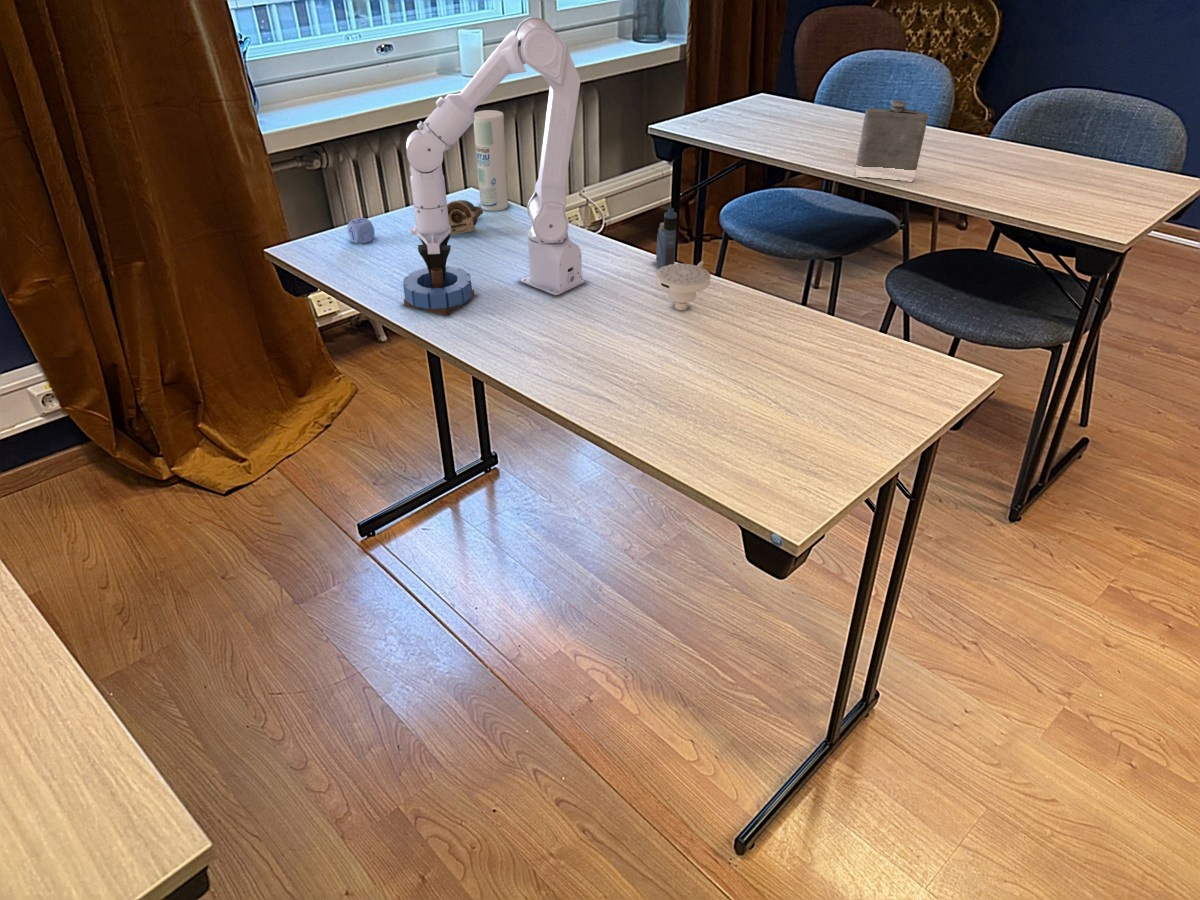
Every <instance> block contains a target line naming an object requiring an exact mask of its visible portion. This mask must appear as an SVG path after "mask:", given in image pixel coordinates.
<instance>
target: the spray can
mask: <svg viewBox="0 0 1200 900" xmlns="http://www.w3.org/2000/svg"><path fill="white" fill-rule="evenodd" d="M504 116H505V115H504V112H503V111H501V110H500V111H499V110H493V109H492V110H491V109H487V110H485V109H483V110H479V111H474V122H473V133H474V143H475V155H476V168H477V176H478V177H477V179H478V191H479V192H478V193H479V200H480V203H479V204H480V208H481V209H482V210H484V211H493V212H494V211H503V210H505V209H507V208H508V207H509V192H508V175H507V173H508V171H507V155H506V135H505V134H506V132H505V117H504Z"/></svg>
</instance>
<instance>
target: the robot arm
mask: <svg viewBox="0 0 1200 900" xmlns="http://www.w3.org/2000/svg"><path fill="white" fill-rule="evenodd" d="M524 65H527V66H528V67H530V68H531V69H533V70H534V71H535V72H537V73H539V75H540V74H541V76H542V77H543V79H544V80H545V81H546V83H547V84H548V86H549V91H548V97H547V98H548V99H547V105H546V107H547V108H546V114H545V121H544V130H543V138H542V146H541V155H540V162H539V170H538V178H537V180H536V183H535V185H534V191H533V194H532V196H531V197H530V199H529V200H528V203H527V206H526V211H527V215H528V217H529V220H530V222H531V227H530V229H529V230H528V233H527V241H528V262H529V274H528V275H525V276H524V277H521V278H520V279H519V281H520V282H521V283H523V284H525V285H528V286H529V287H533V288H535V289H538V290H540V291H543V292H545V293H548V294H550V295H553V296H560V295H562V294H563V293H565V292H567V291H569V290H572V289H574V288H576V287H578V286H580V285H582V284H584V283H585V279H583V278H582V250H581V248H580V247H579V245H578V244H577V243H575V242H573V241H572V240H571V239H570V236H569V232H568V231H569V219H568V217H567V213H566V210H567V209H566V207H567V194H566V193H567V191H566V186H567V185H566V184H567V179H568V178H567V177H568V171H569V165H570V164H569V163H570V157H571V152H572V151H571V150H572V145H573V144H572V143H573V136H574V129H575V123H576V117H577V116H576V115H577V110H578V109H577V108H578V103H579V102H578V101H579V95H580V88H581V87H580V86H581V77H580V75H579V72H578V71H577V68H576V66H575V64H574V60H573V59H572V57H571V54H570V52H569V49H568V47H567V44H566V43H565V41H563V40H562V39H561V37H560V35H559V34H558V33H557V32H556V31H555V30H554V28H553V27H552V26H551V25H550V24H549V23H548V22H547V21H545V19H543V18H541V17H537V16H531V17H528V18H525V19H523V20H522V21H521V22H520V23H519V24H518V26H517V27H516V30H512V31H511V32H510V33H508V34H507V35H506V37H504V39H503V40H502V41H501V43H500V44H499V45H498V46H497V47H496V48H495V49H494V51H493V52H492V53H491V54H490V55H489V57H488V58H487V60H486V61H484V63H483V64H482V66H480V68H479V69H478V71H476V73H475V74H474V75H473V77H472V78H471V79H470V80H469V81H468V83H467V84H466V85H465V86H464V88H463V89H462V90H461V92H459V93H450V94H447V95H446V96H445V97H444V98H443V97H442V96H440V97H439V98H438V99H437V100H436V101H435V106H436V108H435V109H433V111H432V112H431V113H430V114H429V115H428V117H426V119H425V120H424V121H421V120H420V121H419V122H418V124H417V125H416V126H417V127H416V128H417V129H415V130H413V131H412V132H411V133H410V134H409V135H408V136H407V139H406V145H405V149H406V157H407V160H408V162H409V173H410V179H409V181H410V187H411V195H412V203H413V204H412V205H413V211H414V219H415V226H411V227H410V228H409V234H410V235H413V236H415V235H416V236H417V237H418V239H419V240H420V242H421V244H417V252H418V253H419V255H420V257H421V258H422V259H423V262H424V263H425V265H426V268H428V271H429V274H430V277H431V269H432V268H435V267H440V268H442V272H443V281H445V272H446V267H447V262H448V257H449V255H450V253H451V250H452V249H451V248H452V247H451V244H449V240H450V237H451V235H450V232H451V227H450V225H449V219H448V209H447V204H448V201H447V190H446V182H445V175H444V174H443V170H442V169H443V168H442V164H443V161H444V152H446V151H448V150H450V149H451V148H452V147H453V146H454V145H455V144H456V142H457V141H458V140H459V139H460V138H461V137H462V135H463V134H464V133H465V132H466V131H467V130H468V129H469V128H470V127H471V125H473V124H474V113H475V109H476V108H477V107H478V106H479V105H480V104H481V103H482V102H483V101H484V100H485V99H486V98H487V97H488V96H489V95H490V93H492V91H493V90H495V88H497V87H498V86H499V84H500V83H502V81H503V80H504V79H505V78H506V77H508V76H509V75H513V74H521V73H526V72H527V70H526V68H525V66H524ZM431 280H432V277H431Z"/></svg>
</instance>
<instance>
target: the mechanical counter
mask: <svg viewBox="0 0 1200 900" xmlns="http://www.w3.org/2000/svg"><path fill="white" fill-rule="evenodd" d="M447 209H448V219H449V225H450V227H451V232H450V236H453V235H458V234H463V233H469V232H475V231H476V228H475V226H476V224H477V222H478V220H479V217H481V216H482V215H483V214H484V209H483V208H482V207H480V206H475V204H473V203H472V202H471V201H469V200H465V199H458V200H453V201H450V202H447Z"/></svg>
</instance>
